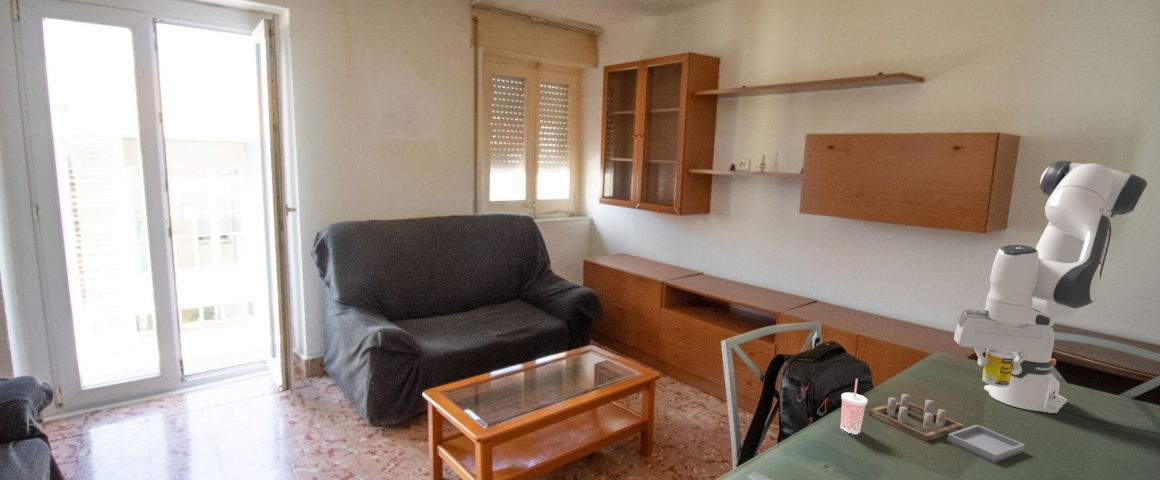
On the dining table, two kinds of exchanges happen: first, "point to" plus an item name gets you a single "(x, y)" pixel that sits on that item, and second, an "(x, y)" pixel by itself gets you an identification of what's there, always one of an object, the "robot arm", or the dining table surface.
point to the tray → (986, 443)
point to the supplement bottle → (998, 367)
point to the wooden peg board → (926, 412)
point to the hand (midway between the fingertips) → (997, 366)
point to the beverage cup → (852, 411)
